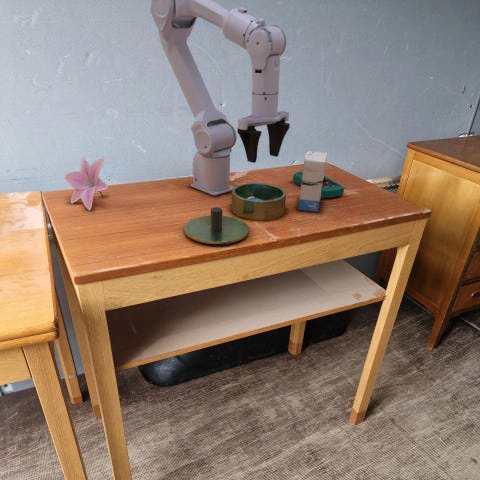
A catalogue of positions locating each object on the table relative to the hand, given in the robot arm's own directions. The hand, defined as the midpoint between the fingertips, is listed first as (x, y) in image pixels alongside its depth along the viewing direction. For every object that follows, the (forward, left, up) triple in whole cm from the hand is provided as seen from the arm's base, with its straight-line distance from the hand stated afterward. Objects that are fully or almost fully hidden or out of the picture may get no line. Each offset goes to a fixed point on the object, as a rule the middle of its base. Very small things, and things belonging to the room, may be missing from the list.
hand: (263, 158), depth 102 cm
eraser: (+3, -4, -10) cm, 11 cm away
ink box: (+9, +8, -11) cm, 16 cm away
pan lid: (+6, -20, -10) cm, 23 cm away
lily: (-26, -31, -11) cm, 42 cm away
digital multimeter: (+3, +19, -11) cm, 22 cm away
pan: (+3, -4, -10) cm, 12 cm away
